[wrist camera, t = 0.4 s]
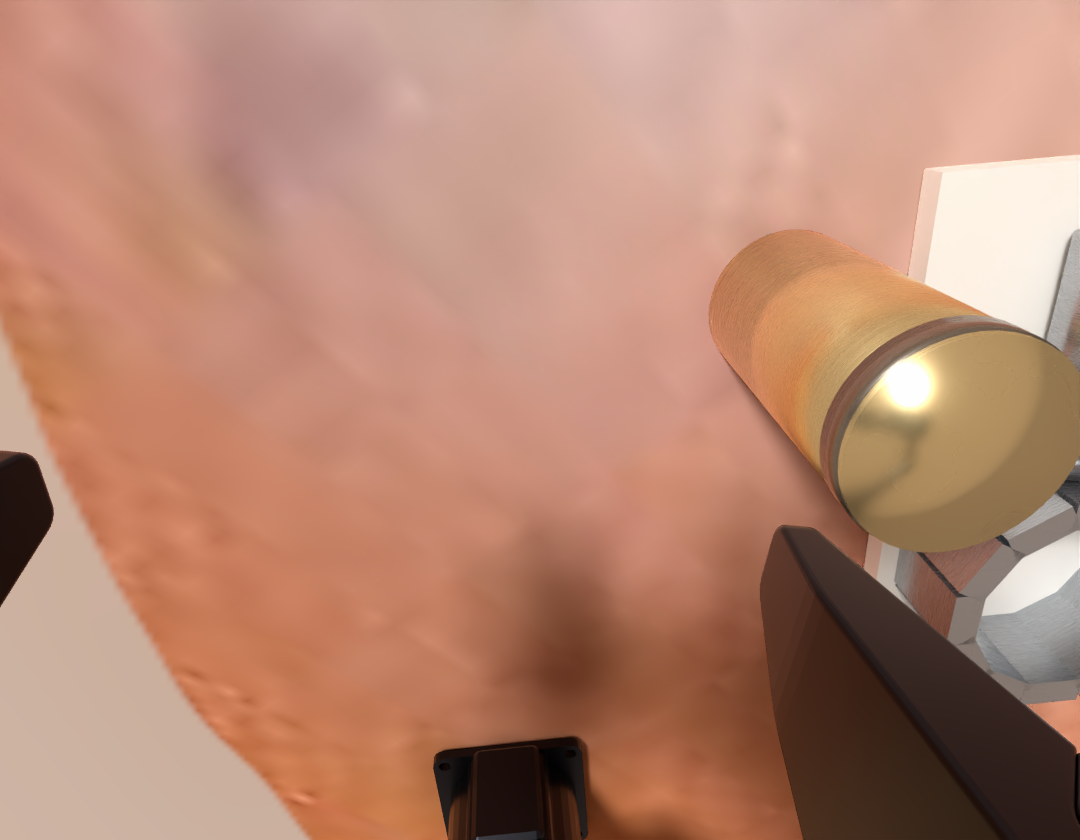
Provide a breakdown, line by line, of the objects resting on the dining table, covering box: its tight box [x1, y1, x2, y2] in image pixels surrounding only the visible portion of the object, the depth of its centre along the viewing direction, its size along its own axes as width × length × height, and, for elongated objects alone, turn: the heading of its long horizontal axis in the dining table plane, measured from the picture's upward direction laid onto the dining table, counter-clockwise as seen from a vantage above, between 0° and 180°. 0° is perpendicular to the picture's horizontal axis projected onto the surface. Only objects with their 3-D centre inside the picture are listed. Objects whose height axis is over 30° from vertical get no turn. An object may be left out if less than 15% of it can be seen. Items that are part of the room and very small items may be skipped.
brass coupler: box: [709, 230, 1080, 552], centre depth 19 cm, size 5×5×10 cm
